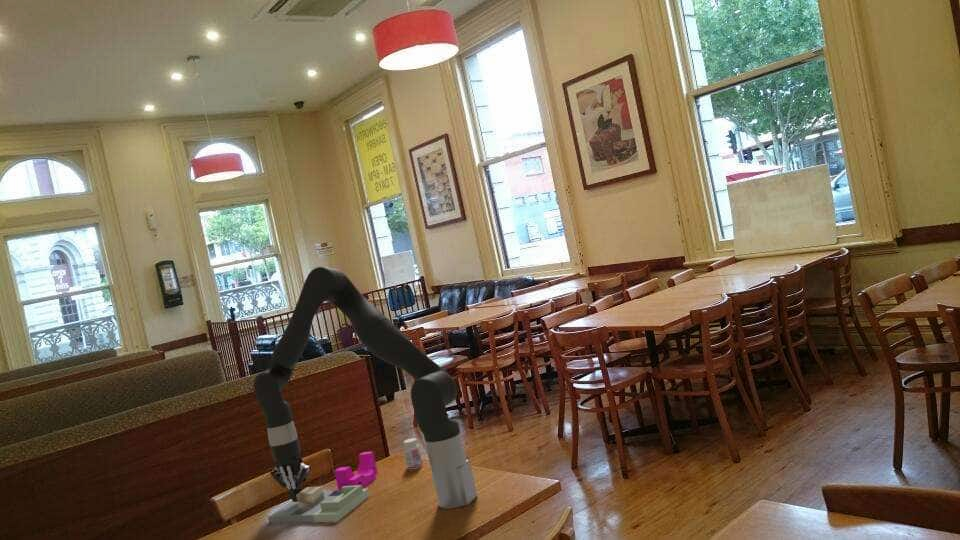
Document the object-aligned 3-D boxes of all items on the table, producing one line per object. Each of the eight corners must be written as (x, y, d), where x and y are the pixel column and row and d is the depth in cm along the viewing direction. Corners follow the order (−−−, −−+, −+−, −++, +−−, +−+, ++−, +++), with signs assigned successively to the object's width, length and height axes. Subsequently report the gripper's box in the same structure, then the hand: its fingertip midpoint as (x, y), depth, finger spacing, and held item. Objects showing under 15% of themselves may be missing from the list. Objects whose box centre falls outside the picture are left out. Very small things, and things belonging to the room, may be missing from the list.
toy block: (357, 495, 192) (352, 469, 191) (339, 496, 194) (334, 470, 194) (385, 474, 205) (379, 450, 205) (367, 475, 208) (362, 452, 208)
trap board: (370, 497, 187) (366, 481, 187) (337, 523, 172) (333, 506, 172) (306, 500, 196) (303, 485, 195) (269, 526, 181) (266, 509, 181)
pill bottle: (417, 470, 202) (411, 442, 202) (404, 470, 205) (398, 443, 205) (426, 464, 206) (420, 437, 206) (414, 464, 209) (408, 437, 209)
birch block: (324, 498, 186) (322, 486, 186) (313, 506, 182) (310, 493, 181) (310, 499, 188) (307, 487, 188) (299, 507, 184) (296, 494, 183)
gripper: (311, 433, 187) (324, 493, 187) (273, 437, 192) (287, 496, 193) (294, 442, 180) (308, 505, 181) (255, 446, 185) (269, 507, 186)
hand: (297, 500), depth 187 cm, fingers closed
